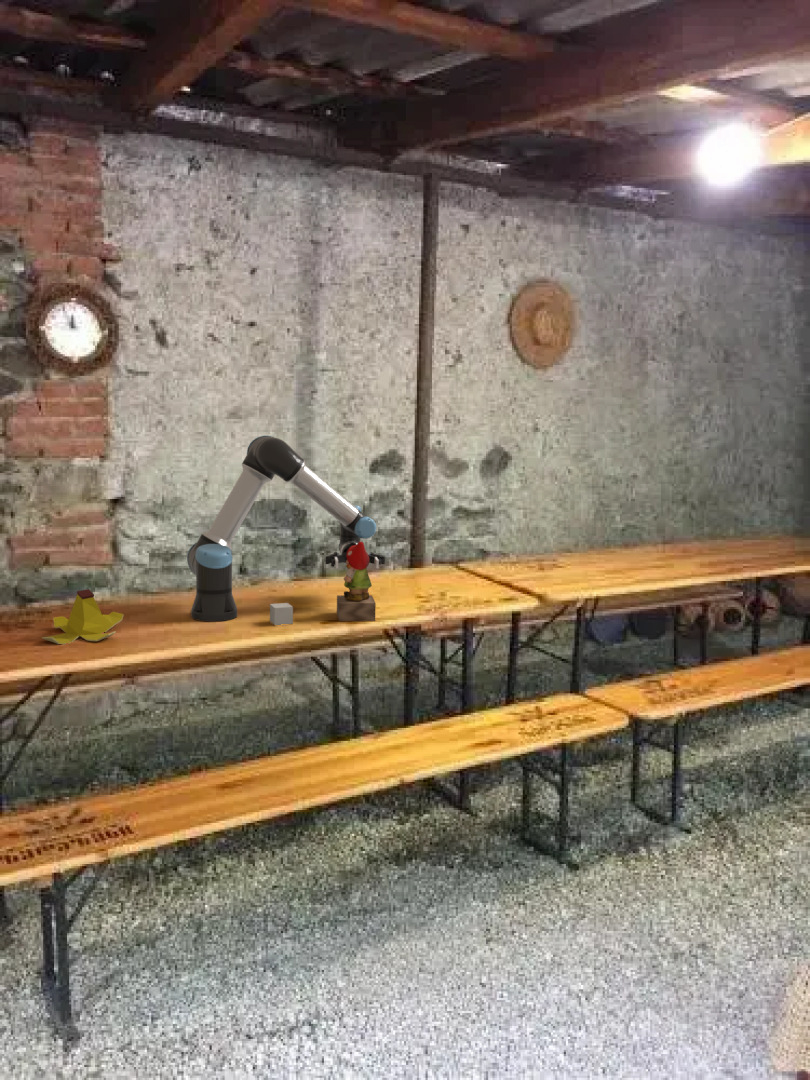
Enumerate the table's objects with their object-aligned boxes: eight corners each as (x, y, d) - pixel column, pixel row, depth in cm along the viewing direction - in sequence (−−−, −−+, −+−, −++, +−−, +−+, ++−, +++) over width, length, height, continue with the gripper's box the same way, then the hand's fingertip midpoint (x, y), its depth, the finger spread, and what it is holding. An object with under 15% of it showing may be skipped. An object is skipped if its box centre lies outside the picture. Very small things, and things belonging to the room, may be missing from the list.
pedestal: (339, 621, 323) (339, 603, 322) (336, 612, 335) (336, 595, 334) (375, 620, 325) (375, 603, 324) (371, 612, 337) (371, 595, 336)
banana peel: (139, 645, 297) (140, 599, 293) (47, 656, 282) (48, 607, 278) (116, 617, 317) (117, 573, 312) (29, 626, 302) (29, 580, 298)
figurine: (351, 595, 335) (352, 537, 332) (375, 597, 333) (376, 539, 330) (339, 601, 325) (340, 542, 322) (364, 603, 322) (365, 544, 319)
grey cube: (274, 626, 315) (274, 608, 314) (269, 621, 320) (269, 604, 319) (292, 624, 317) (292, 606, 316) (287, 620, 323) (287, 602, 322)
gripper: (387, 563, 347) (394, 575, 326) (316, 563, 344) (319, 575, 323) (387, 542, 346) (394, 553, 325) (316, 542, 342) (319, 553, 322)
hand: (357, 564), depth 324 cm, fingers open, 13 cm apart
